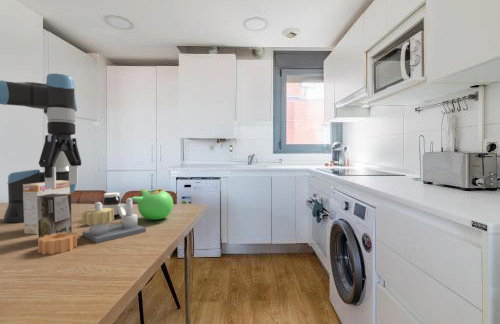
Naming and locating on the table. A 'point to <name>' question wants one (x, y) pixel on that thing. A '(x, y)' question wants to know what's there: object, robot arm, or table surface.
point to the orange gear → (57, 242)
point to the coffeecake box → (31, 201)
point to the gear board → (102, 216)
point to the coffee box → (54, 214)
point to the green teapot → (154, 204)
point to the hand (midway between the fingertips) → (63, 186)
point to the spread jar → (114, 204)
